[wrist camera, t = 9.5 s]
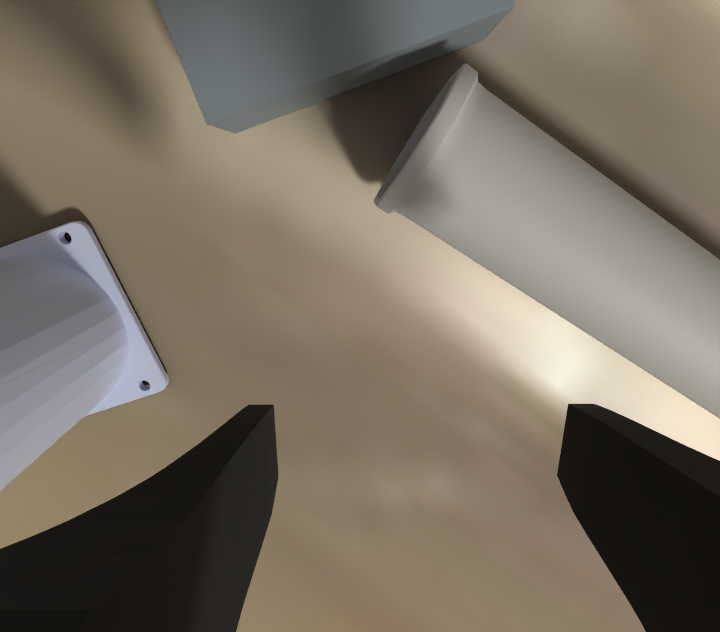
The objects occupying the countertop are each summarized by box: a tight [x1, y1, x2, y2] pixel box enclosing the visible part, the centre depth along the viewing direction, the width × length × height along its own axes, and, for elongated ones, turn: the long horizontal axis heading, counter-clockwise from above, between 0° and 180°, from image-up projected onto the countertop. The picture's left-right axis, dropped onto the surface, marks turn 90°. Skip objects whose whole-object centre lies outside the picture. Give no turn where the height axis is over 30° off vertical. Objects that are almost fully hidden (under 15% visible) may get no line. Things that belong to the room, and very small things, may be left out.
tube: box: [374, 63, 720, 418], centre depth 18 cm, size 5×5×25 cm
